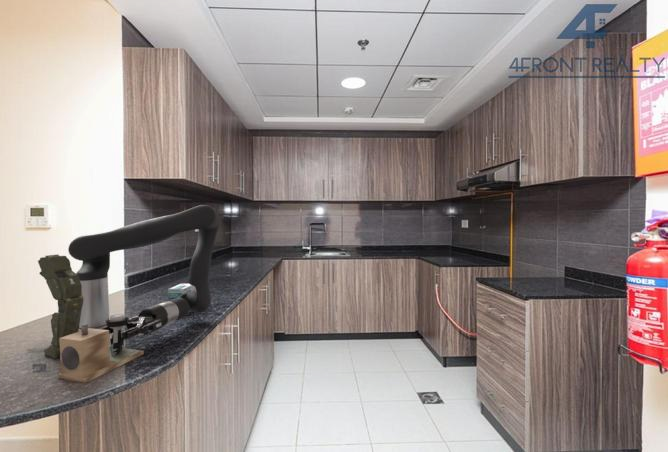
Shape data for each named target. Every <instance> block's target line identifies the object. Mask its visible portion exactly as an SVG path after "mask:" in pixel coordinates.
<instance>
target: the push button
mask: <svg viewBox="0 0 668 452" xmlns="http://www.w3.org/2000/svg"><path fill="white" fill-rule="evenodd" d="M109 317H110V319H108V320H106V323H107V324H106V326H107V327H110V328H113V329H114V330H113V333H112V336H111V338H109V340H110V352H111V355H115V354H118V353H119V352H120V350H121V349H122V351H123V348H124V347H125V343H124V342H125V340H123V339H122V332H121V327H123V326H125V325H126V324H127V322H128V320H129V318H130V317H129V316H126V314H123V313H119V314H113V315H109Z"/></svg>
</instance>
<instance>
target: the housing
mask: <svg viewBox="0 0 668 452" xmlns="http://www.w3.org/2000/svg"><path fill="white" fill-rule="evenodd" d="M81 327H82V328H81V330H80V331H79V330H78V332H76V333H73V334H70V335H67V336H64V337H61V338H59V342H60V359H59V360H60V373H59V374H58V375H57V376H58V379H61V380H66V381H72V382H78V383H84V384H86V383H88V382H90V381H92V380H95V379H96V378H99V377H100V376H102V375H104V374H106V373H108V372H110V371H113V370H116V368H119V367H121V366H122V365H125V364H127V363H128V362H131V361H133V360H135V359H136V358H137V359H138V358H139V357H141V356H143V355H144V353H145V352H144V350H141V349H135V348H134V349H132V348H123V351H122V349H121V350H120V352H119V353H118V354H115V355H111V352H110V350H111V349H110V346H111V344H110V334H109V330H101V328H88V324H83V325H81Z"/></svg>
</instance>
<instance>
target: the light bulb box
mask: <svg viewBox="0 0 668 452" xmlns="http://www.w3.org/2000/svg"><path fill="white" fill-rule="evenodd" d="M167 291H168V292H167V295H168V301H171V300H174V299H176V298H177V297H179V296H180V295H182V294H183V293H186V292H197V291H196V287H195V286H193V285H190V284H189V283H179V284H177V285H174V286H173V287H170V288H168V289H167ZM190 312H192V311H189V313H190Z"/></svg>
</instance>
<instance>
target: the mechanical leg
mask: <svg viewBox="0 0 668 452" xmlns="http://www.w3.org/2000/svg"><path fill="white" fill-rule="evenodd" d="M37 263H38V266H39V268H40V272H39V275H40V276H41V277H43V278H44V280H45V283H46V285H47V286H48V289H49V291H50V293H51V296H52V298H53V299H54V300H55V301H57V308H58V310H57V312H54V313H52V315H51V319H50V326H51V327H50V328H51V333H52V340H51V342H50V345H48V347H47V348H45V349H44V351H43V352H44V356H47V357H51V358H53V359H59V360H60V342H59V338H61V337H64V336H67V335H70V334H73V333H76V332H79V329H80V328H79V324H80V317H81V310H82V306H83V299H84V298H83V296H82V285H81V282H80V280H79V277H78V275H77V274H76V273H77V272H74V271H73V269H72V266H71V261H70V259H69V258H68V257H67V256H66V255H59V254H51V255H50V254H49V255H44V256H43V257H40V258H39V259H38V261H37Z"/></svg>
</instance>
